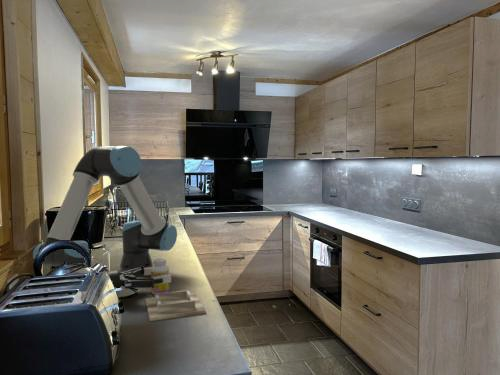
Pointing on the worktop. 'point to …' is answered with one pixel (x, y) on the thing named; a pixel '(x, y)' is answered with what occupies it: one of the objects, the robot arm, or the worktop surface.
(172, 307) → the holder board
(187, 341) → the worktop surface
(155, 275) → the supplement bottle
